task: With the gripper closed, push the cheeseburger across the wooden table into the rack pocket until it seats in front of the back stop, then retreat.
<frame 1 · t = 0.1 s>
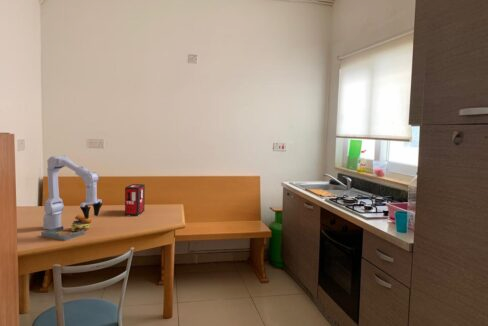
hand: (91, 217, 215), 10 cm above the table, fingers open, 7 cm apart
cheeseburger: (80, 229, 225), on the table
rack: (63, 235, 212), on the table
cleaning product box: (134, 213, 270), on the table
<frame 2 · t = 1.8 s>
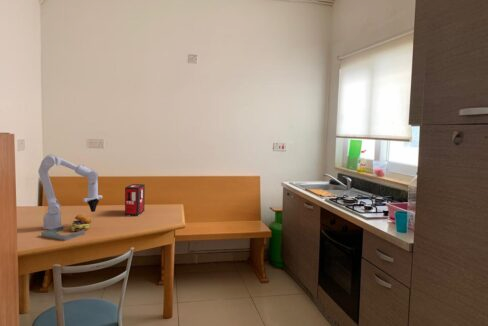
hand: (93, 211, 233), 9 cm above the table, fingers closed
nothing on the table moved.
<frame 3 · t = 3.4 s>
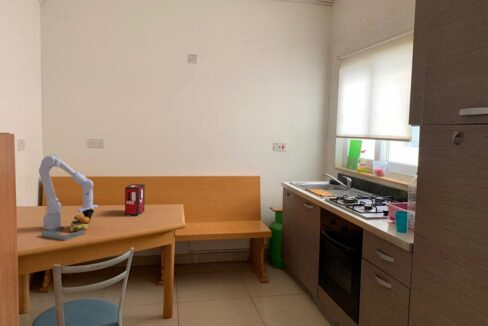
hand: (88, 221, 230), 3 cm above the table, fingers closed
cheeseburger: (79, 230, 224), on the table, touching gripper
everything else where it was.
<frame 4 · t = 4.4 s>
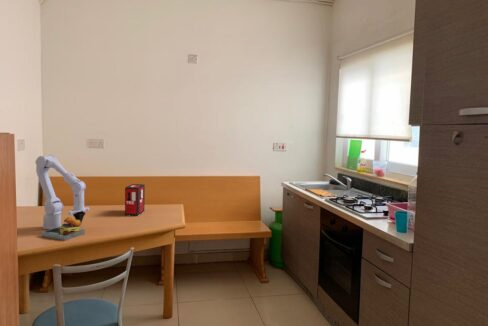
hand: (79, 224, 223), 3 cm above the table, fingers closed
cheeseburger: (70, 233, 217), on the table, touching gripper
everything else where it was.
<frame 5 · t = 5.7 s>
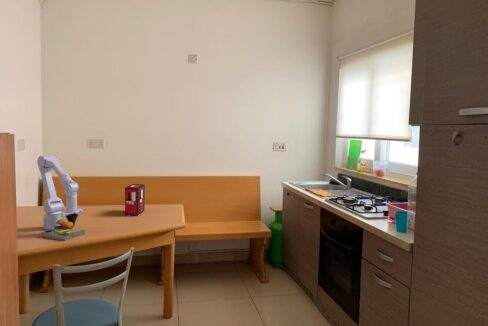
hand: (71, 226, 218), 3 cm above the table, fingers closed
cheeseburger: (62, 235, 212), on the table, touching gripper, rack
everything else where it was.
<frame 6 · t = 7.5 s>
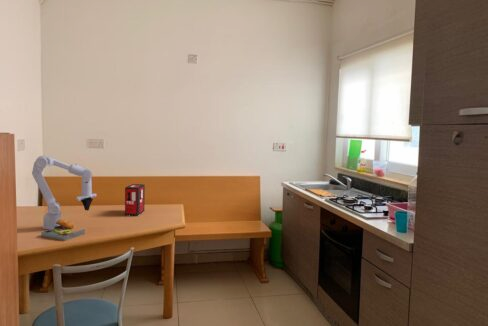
hand: (86, 210, 232), 10 cm above the table, fingers closed
cheeseburger: (62, 235, 212), on the table
everything else where it was.
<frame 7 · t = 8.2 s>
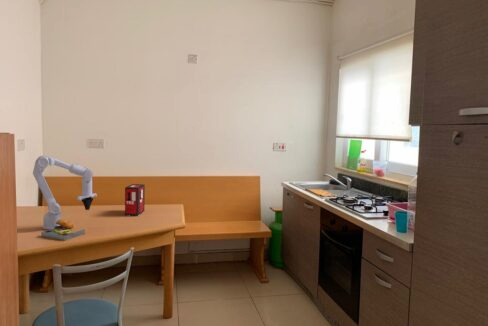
hand: (87, 209, 233), 10 cm above the table, fingers closed
cheeseburger: (62, 235, 212), on the table, touching rack
everything else where it was.
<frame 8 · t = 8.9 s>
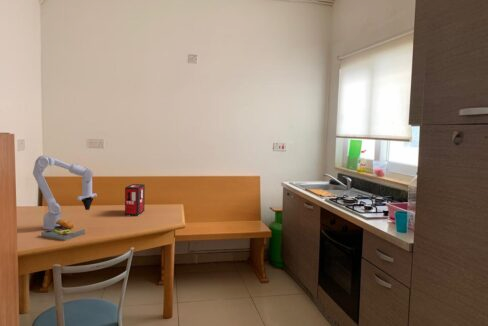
hand: (87, 209, 233), 10 cm above the table, fingers closed
cheeseburger: (62, 235, 212), on the table
everything else where it was.
at the end: cheeseburger inside the target area (0.6 cm from its centre), on the table; cheeseburger moved 13.7 cm from its start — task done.
